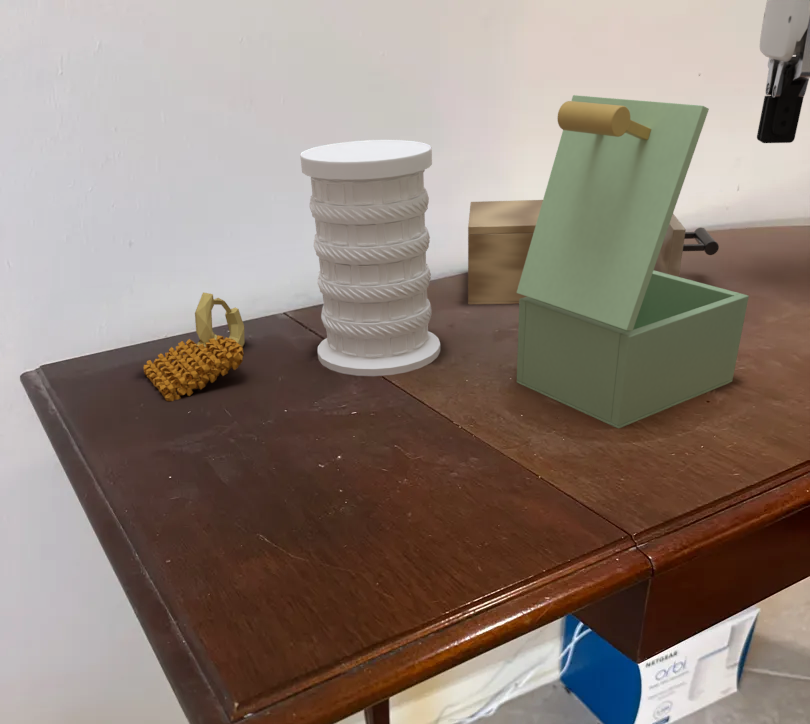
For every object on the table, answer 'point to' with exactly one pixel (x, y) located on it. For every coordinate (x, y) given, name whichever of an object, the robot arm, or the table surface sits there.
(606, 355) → the chest
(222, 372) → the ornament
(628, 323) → the lid
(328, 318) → the decorative container
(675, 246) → the drawer
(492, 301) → the cabinet
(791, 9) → the robot arm
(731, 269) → the table surface
